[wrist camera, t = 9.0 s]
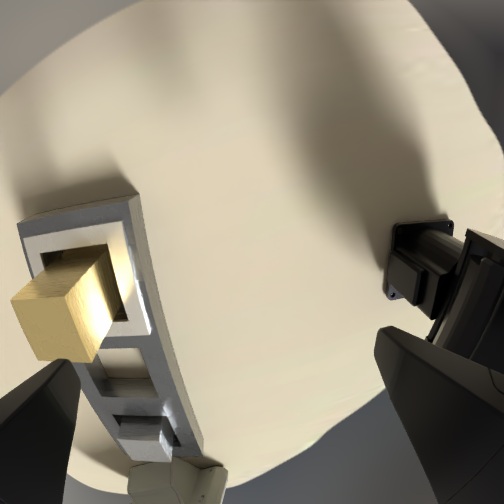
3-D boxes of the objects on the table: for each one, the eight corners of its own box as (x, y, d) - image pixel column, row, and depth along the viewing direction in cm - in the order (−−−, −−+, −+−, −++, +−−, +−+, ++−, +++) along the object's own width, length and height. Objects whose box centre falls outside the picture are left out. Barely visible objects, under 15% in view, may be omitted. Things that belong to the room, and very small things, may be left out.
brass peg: (114, 241, 19) (64, 296, 12) (127, 292, 20) (91, 362, 13) (68, 248, 19) (10, 300, 11) (83, 296, 20) (38, 360, 13)
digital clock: (145, 487, 32) (140, 542, 22) (107, 461, 29) (95, 522, 19) (239, 475, 32) (247, 539, 22) (208, 448, 28) (210, 526, 18)
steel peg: (164, 400, 25) (159, 441, 20) (174, 424, 26) (171, 462, 22) (126, 400, 25) (116, 438, 20) (139, 423, 26) (132, 460, 21)
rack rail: (139, 193, 18) (126, 202, 16) (203, 438, 27) (203, 458, 25) (34, 214, 18) (14, 224, 15) (128, 437, 27) (124, 456, 24)
